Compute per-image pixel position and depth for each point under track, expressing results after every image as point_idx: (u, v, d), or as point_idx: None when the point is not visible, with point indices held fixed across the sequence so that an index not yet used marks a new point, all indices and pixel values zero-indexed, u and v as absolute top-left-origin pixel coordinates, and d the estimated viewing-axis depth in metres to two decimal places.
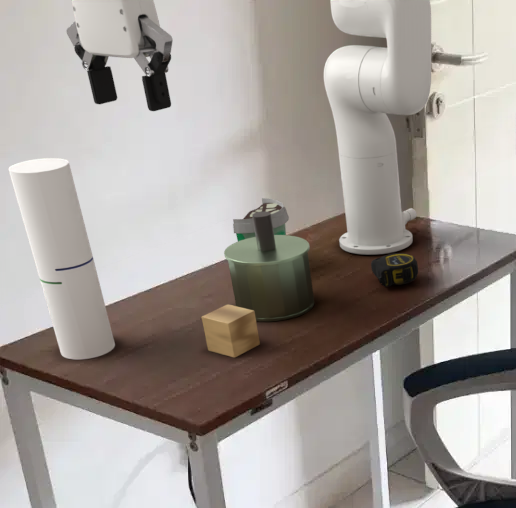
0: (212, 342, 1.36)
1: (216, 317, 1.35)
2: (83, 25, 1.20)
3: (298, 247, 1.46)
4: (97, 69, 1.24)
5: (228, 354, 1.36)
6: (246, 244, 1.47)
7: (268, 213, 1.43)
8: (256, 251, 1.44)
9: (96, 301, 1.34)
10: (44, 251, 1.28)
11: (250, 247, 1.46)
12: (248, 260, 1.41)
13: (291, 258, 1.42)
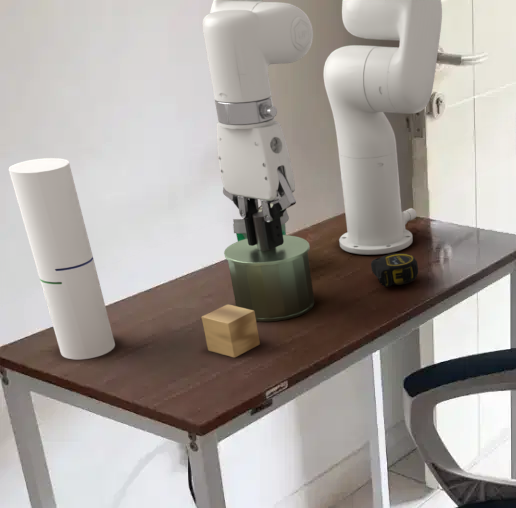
0: (212, 342, 1.36)
1: (216, 317, 1.35)
2: (227, 172, 1.39)
3: (298, 247, 1.46)
4: (252, 217, 1.44)
5: (228, 354, 1.36)
6: (246, 244, 1.47)
7: None
8: (256, 251, 1.44)
9: (96, 301, 1.34)
10: (44, 251, 1.28)
11: (250, 247, 1.46)
12: (248, 260, 1.41)
13: (291, 258, 1.42)
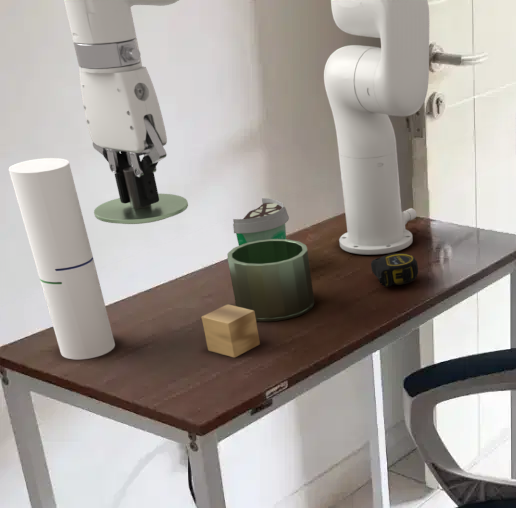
0: (212, 342, 1.36)
1: (216, 317, 1.35)
2: (93, 122, 1.30)
3: (175, 205, 1.36)
4: None
5: (228, 354, 1.36)
6: (120, 202, 1.38)
7: None
8: (128, 209, 1.35)
9: (96, 301, 1.34)
10: (44, 251, 1.28)
11: (124, 205, 1.36)
12: (117, 218, 1.31)
13: (164, 216, 1.32)
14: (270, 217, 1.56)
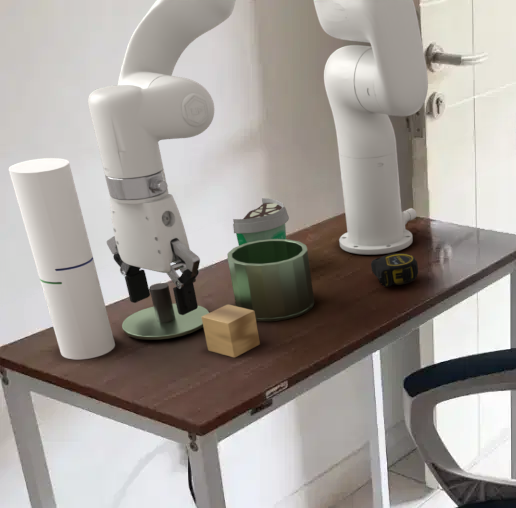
0: (212, 342, 1.36)
1: (216, 317, 1.35)
2: (122, 243, 1.38)
3: (197, 318, 1.45)
4: (133, 274, 1.43)
5: (228, 354, 1.36)
6: (146, 314, 1.46)
7: (166, 285, 1.42)
8: (154, 323, 1.43)
9: (96, 301, 1.34)
10: (44, 251, 1.28)
11: (150, 318, 1.45)
12: (144, 334, 1.40)
13: (188, 331, 1.41)
14: (270, 217, 1.56)
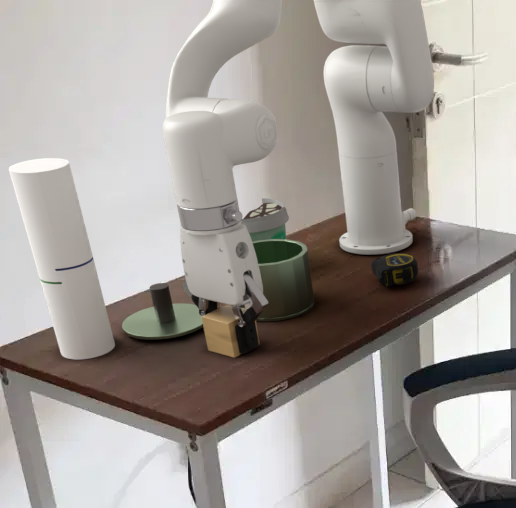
0: (212, 342, 1.36)
1: (216, 317, 1.35)
2: (191, 275, 1.32)
3: (197, 318, 1.45)
4: None
5: (228, 354, 1.36)
6: (146, 314, 1.46)
7: (166, 285, 1.42)
8: (154, 323, 1.43)
9: (96, 301, 1.34)
10: (44, 251, 1.28)
11: (150, 318, 1.45)
12: (144, 334, 1.40)
13: (188, 331, 1.41)
14: (270, 217, 1.56)
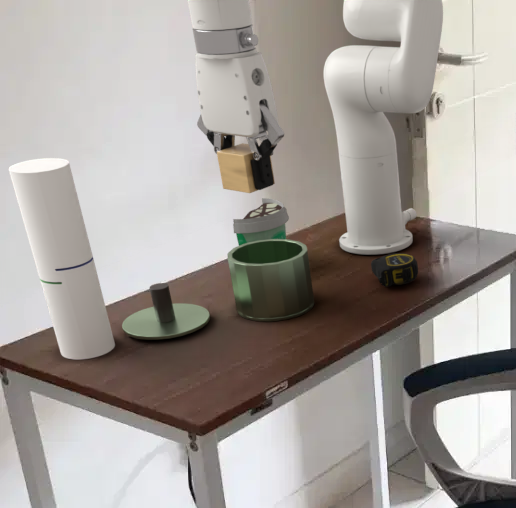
0: (227, 179, 1.36)
1: (231, 152, 1.35)
2: (207, 107, 1.32)
3: (197, 318, 1.45)
4: None
5: (243, 190, 1.36)
6: (146, 314, 1.46)
7: (166, 285, 1.42)
8: (154, 323, 1.43)
9: (96, 301, 1.34)
10: (44, 251, 1.28)
11: (150, 318, 1.45)
12: (144, 334, 1.40)
13: (188, 331, 1.41)
14: (270, 217, 1.56)
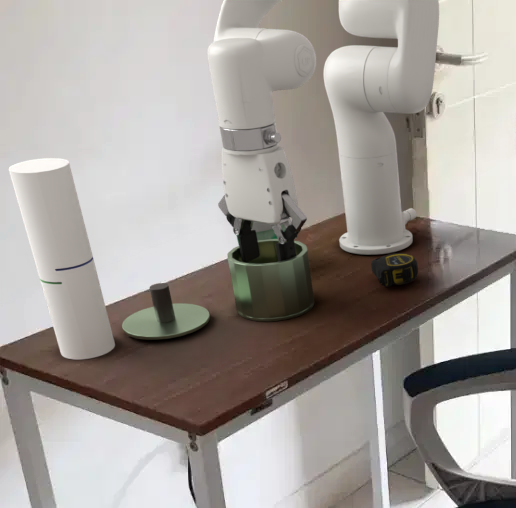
0: None
1: None
2: (232, 196, 1.41)
3: (197, 318, 1.45)
4: (246, 234, 1.46)
5: None
6: (146, 314, 1.46)
7: (166, 285, 1.42)
8: (154, 323, 1.43)
9: (96, 301, 1.34)
10: (44, 251, 1.28)
11: (150, 318, 1.45)
12: (144, 334, 1.40)
13: (188, 331, 1.41)
14: None
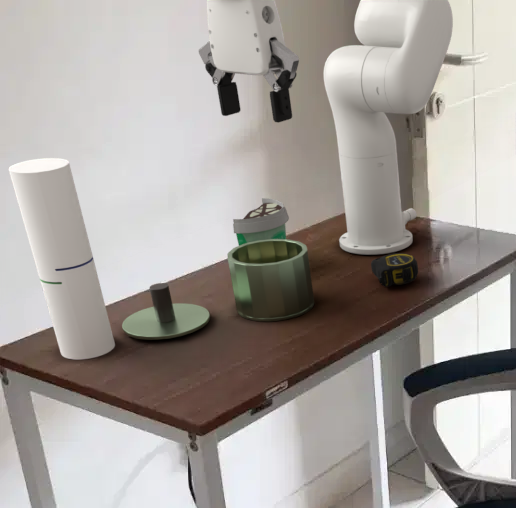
0: None
1: None
2: (217, 46, 1.35)
3: (197, 318, 1.45)
4: (225, 85, 1.40)
5: None
6: (146, 314, 1.46)
7: (166, 285, 1.42)
8: (154, 323, 1.43)
9: (96, 301, 1.34)
10: (44, 251, 1.28)
11: (150, 318, 1.45)
12: (144, 334, 1.40)
13: (188, 331, 1.41)
14: (270, 217, 1.56)
